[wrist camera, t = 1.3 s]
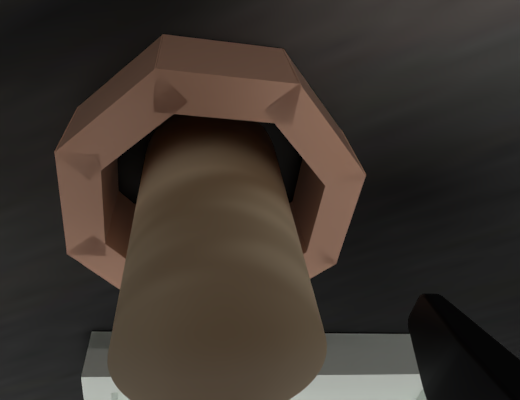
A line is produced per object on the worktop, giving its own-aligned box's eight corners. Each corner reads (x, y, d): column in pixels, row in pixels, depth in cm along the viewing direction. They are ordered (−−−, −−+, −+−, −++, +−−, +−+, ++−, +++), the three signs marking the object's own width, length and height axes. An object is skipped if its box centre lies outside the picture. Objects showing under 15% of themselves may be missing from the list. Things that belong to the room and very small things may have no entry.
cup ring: (362, 57, 12) (394, 93, 10) (305, 260, 17) (319, 313, 15) (70, 22, 11) (41, 55, 9) (90, 252, 15) (73, 309, 13)
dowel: (286, 111, 13) (352, 289, 8) (264, 219, 15) (303, 417, 10) (145, 98, 12) (101, 283, 7) (144, 212, 15) (111, 423, 9)
